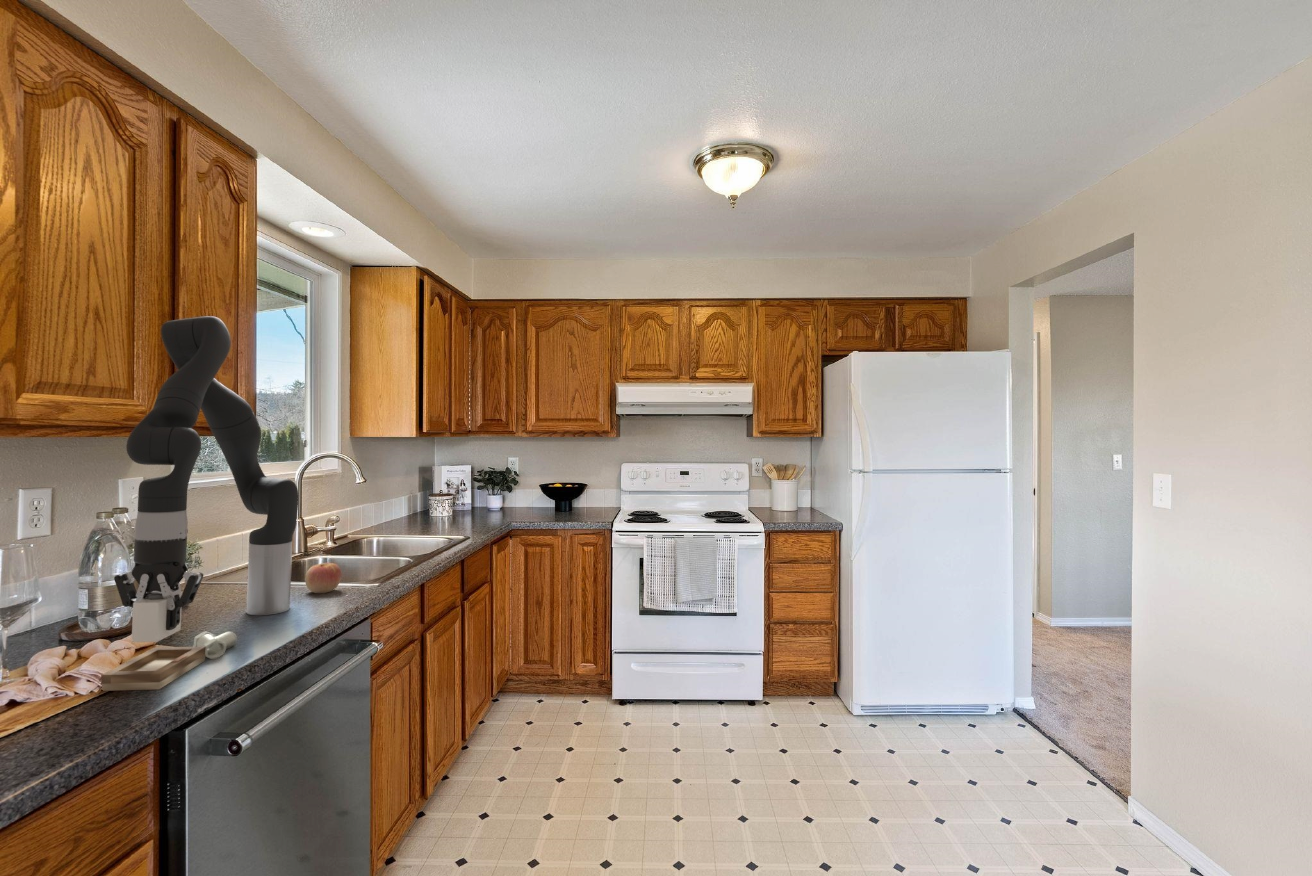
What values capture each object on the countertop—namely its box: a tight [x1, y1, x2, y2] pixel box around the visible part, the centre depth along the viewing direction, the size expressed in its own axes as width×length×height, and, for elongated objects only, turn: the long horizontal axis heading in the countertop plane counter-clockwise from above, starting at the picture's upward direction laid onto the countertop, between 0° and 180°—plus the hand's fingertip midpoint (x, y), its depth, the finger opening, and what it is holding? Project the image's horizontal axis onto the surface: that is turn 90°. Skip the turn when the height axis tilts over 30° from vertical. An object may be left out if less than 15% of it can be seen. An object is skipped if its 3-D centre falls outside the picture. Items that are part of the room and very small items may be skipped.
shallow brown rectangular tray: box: [100, 646, 206, 692], centre depth 113 cm, size 14×9×3 cm, turn 9°
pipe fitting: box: [192, 630, 238, 660], centre depth 125 cm, size 8×4×7 cm
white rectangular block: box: [131, 591, 183, 643], centre depth 113 cm, size 4×7×8 cm, turn 9°
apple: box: [305, 562, 342, 594], centre depth 174 cm, size 9×9×8 cm
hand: (157, 628), depth 113 cm, fingers closed on white rectangular block, 4 cm apart
